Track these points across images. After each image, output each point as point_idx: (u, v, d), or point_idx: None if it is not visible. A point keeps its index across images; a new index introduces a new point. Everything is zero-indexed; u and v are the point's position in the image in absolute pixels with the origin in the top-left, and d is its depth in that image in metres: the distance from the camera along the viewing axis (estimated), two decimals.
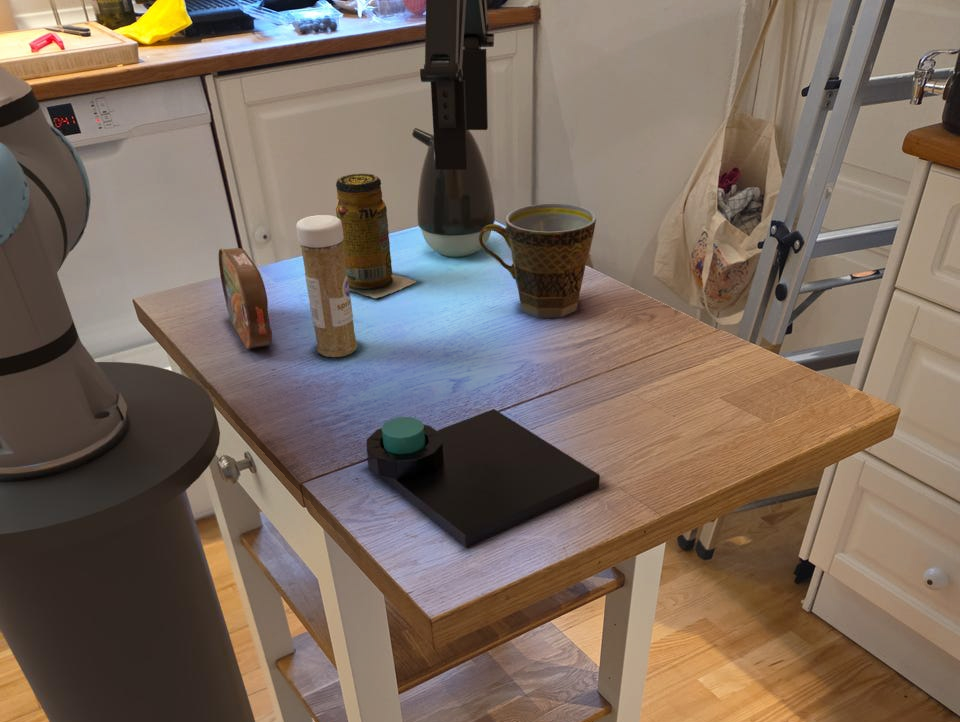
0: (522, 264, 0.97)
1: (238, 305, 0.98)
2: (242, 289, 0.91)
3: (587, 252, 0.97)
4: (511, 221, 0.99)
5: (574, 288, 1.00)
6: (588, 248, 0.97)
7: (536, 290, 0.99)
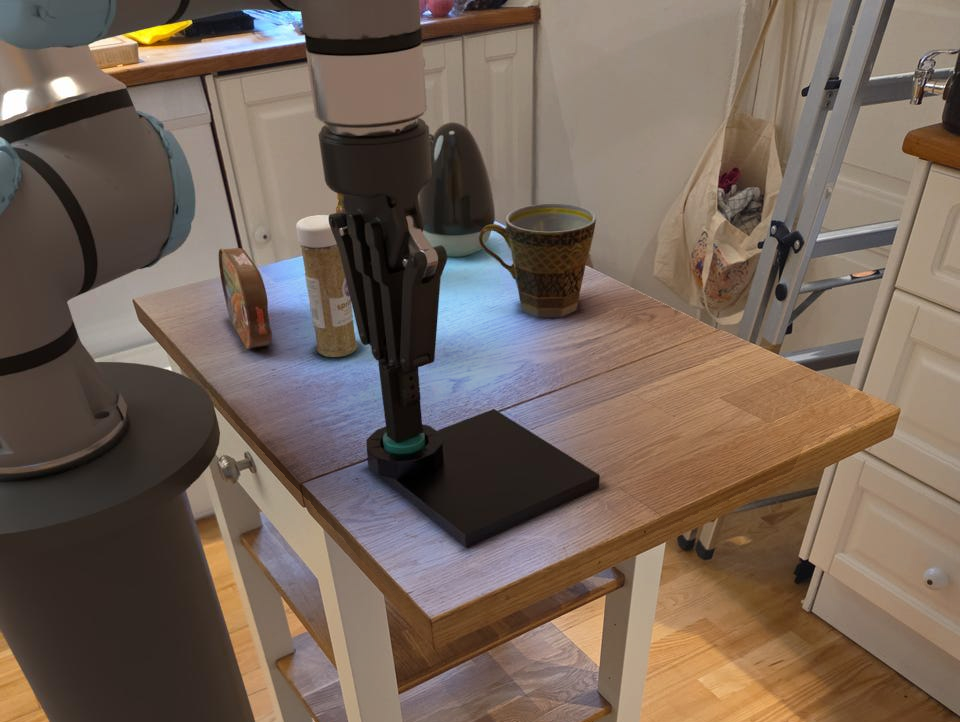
0: (522, 264, 0.97)
1: (238, 305, 0.98)
2: (242, 289, 0.91)
3: (587, 252, 0.97)
4: (511, 221, 0.99)
5: (574, 288, 1.00)
6: (588, 248, 0.97)
7: (536, 290, 0.99)
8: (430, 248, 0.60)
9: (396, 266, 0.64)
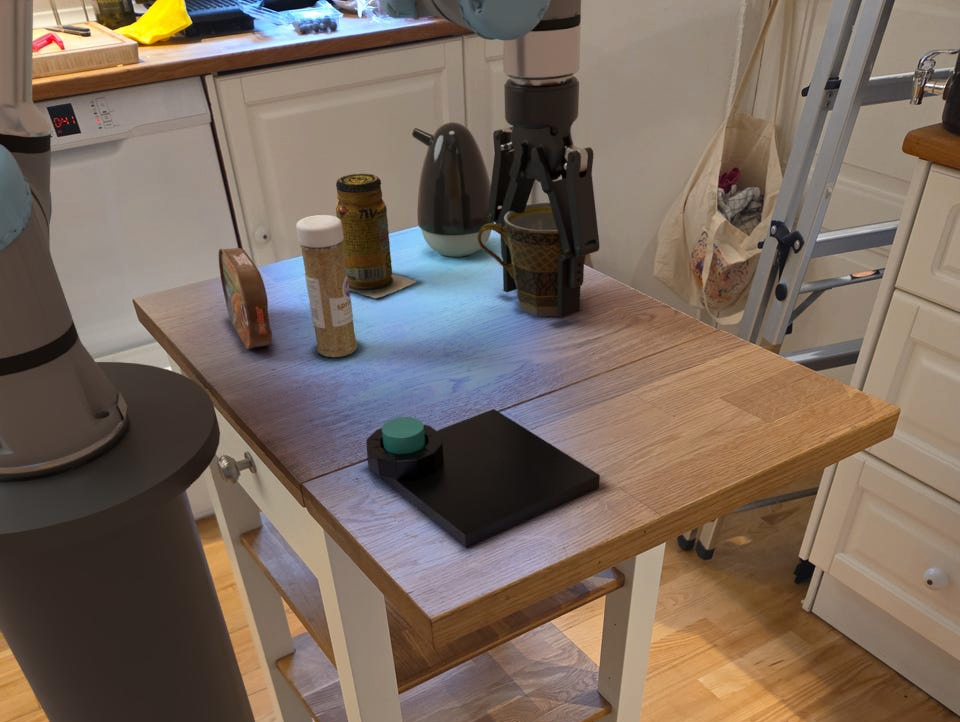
0: (521, 263, 0.98)
1: (238, 305, 0.98)
2: (242, 289, 0.91)
3: None
4: (509, 220, 0.99)
5: None
6: None
7: (535, 289, 0.99)
8: (580, 149, 0.88)
9: (550, 179, 0.92)
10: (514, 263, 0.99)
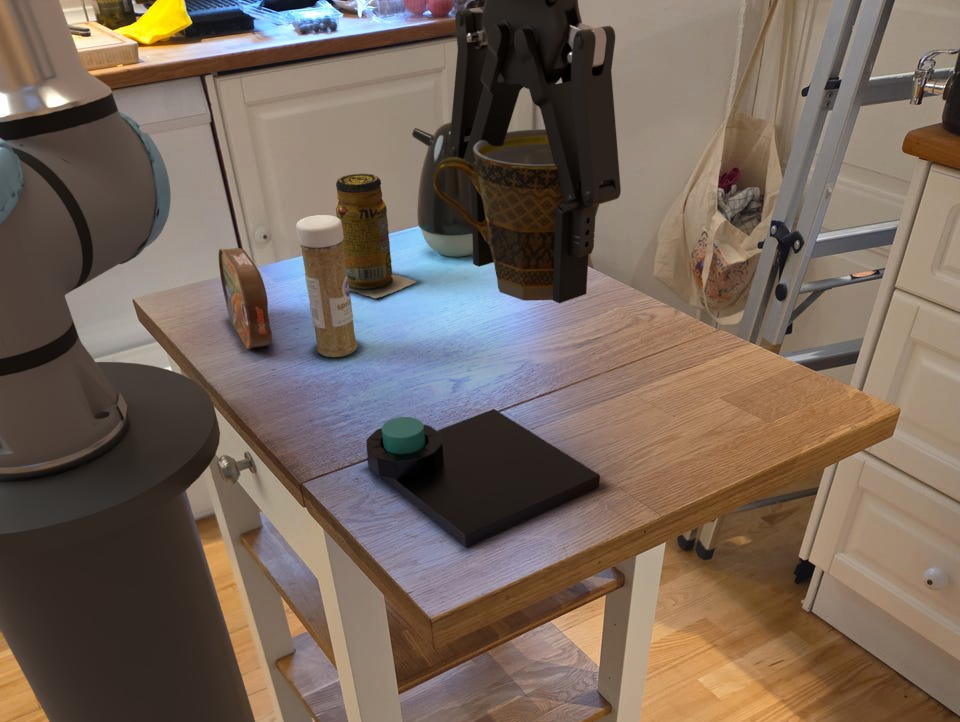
0: (499, 219, 0.64)
1: (238, 305, 0.98)
2: (242, 289, 0.91)
3: None
4: (482, 154, 0.65)
5: None
6: None
7: (521, 258, 0.65)
8: (594, 28, 0.54)
9: None
10: (489, 219, 0.65)
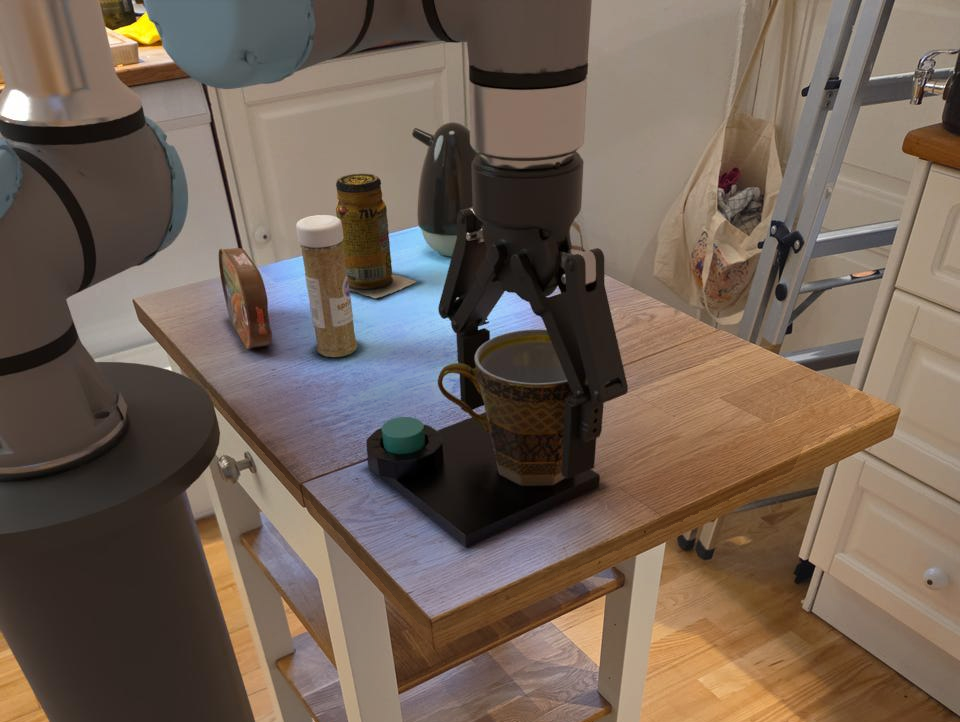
0: (498, 420, 0.69)
1: (238, 305, 0.98)
2: (242, 289, 0.91)
3: None
4: (483, 357, 0.70)
5: None
6: None
7: (518, 453, 0.71)
8: (584, 252, 0.58)
9: None
10: (489, 418, 0.70)
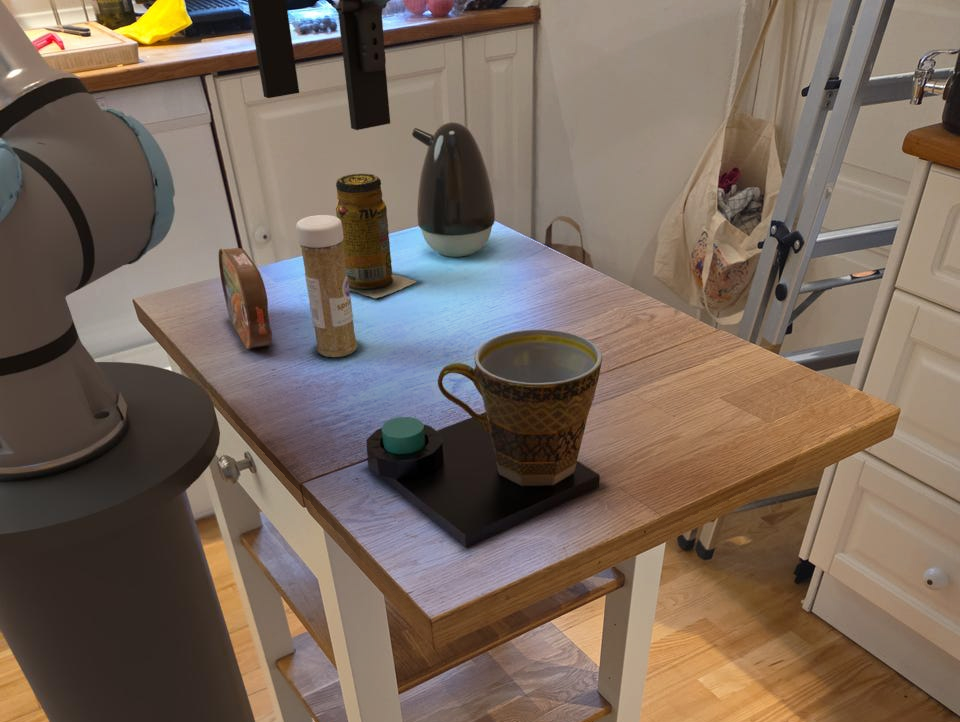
0: (498, 420, 0.69)
1: (238, 305, 0.98)
2: (242, 289, 0.91)
3: (590, 403, 0.69)
4: (483, 357, 0.70)
5: (572, 448, 0.72)
6: (591, 398, 0.69)
7: (518, 453, 0.71)
8: None
9: None
10: (489, 418, 0.70)
